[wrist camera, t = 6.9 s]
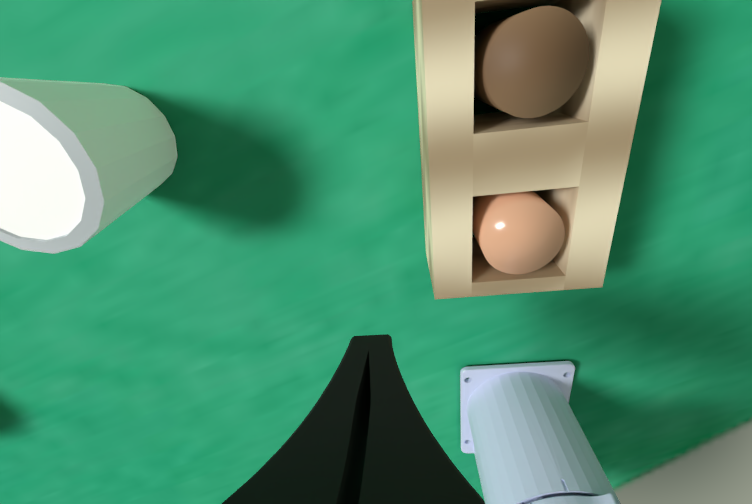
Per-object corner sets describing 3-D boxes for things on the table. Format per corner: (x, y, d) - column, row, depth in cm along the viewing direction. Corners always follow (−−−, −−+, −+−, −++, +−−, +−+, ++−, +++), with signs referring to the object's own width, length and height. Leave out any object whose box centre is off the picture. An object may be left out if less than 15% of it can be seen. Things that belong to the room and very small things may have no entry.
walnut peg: (536, 100, 18) (581, 112, 14) (462, 108, 18) (484, 123, 14) (543, 14, 16) (597, -2, 12) (462, 25, 17) (487, 13, 13)
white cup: (35, 75, 19) (-140, 82, 13) (164, 64, 18) (49, 67, 12) (92, 202, 22) (-25, 259, 16) (204, 196, 21) (129, 251, 15)
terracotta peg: (525, 229, 21) (559, 271, 17) (463, 234, 22) (481, 277, 17) (530, 168, 20) (569, 197, 15) (462, 174, 20) (482, 205, 16)
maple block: (559, 241, 22) (602, 287, 18) (426, 252, 23) (434, 299, 18) (594, -24, 16) (672, -56, 12) (412, 1, 17) (420, -20, 12)
